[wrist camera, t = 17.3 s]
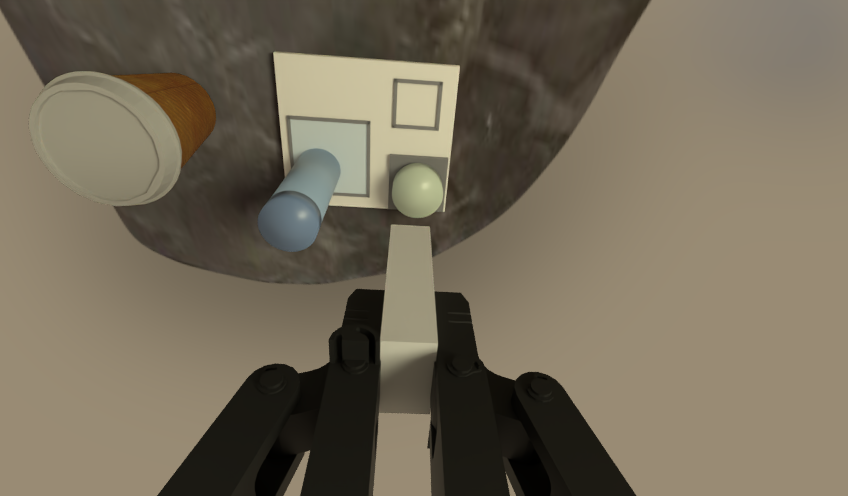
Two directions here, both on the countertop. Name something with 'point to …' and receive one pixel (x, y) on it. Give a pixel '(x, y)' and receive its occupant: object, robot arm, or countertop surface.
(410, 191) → the button
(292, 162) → the sheet
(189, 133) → the disposable coffee cup
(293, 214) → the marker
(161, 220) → the countertop surface
